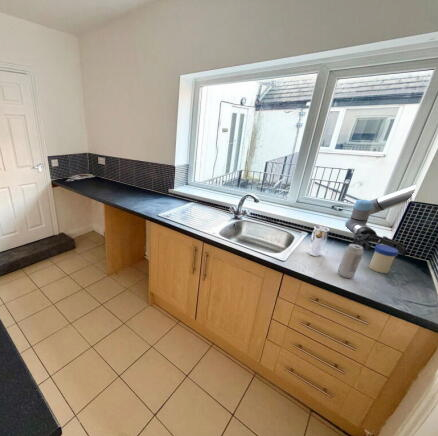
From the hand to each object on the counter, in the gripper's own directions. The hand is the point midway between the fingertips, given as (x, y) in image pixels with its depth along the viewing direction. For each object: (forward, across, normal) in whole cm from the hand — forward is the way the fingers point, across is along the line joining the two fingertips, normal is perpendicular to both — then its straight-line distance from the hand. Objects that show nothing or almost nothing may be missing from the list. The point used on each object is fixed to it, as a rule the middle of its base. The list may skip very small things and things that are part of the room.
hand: (386, 250), depth 113 cm
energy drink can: (+11, +18, -10) cm, 23 cm away
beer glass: (-8, +25, -10) cm, 29 cm away
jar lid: (-1, 0, 0) cm, 1 cm away
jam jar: (-1, 0, -10) cm, 10 cm away
